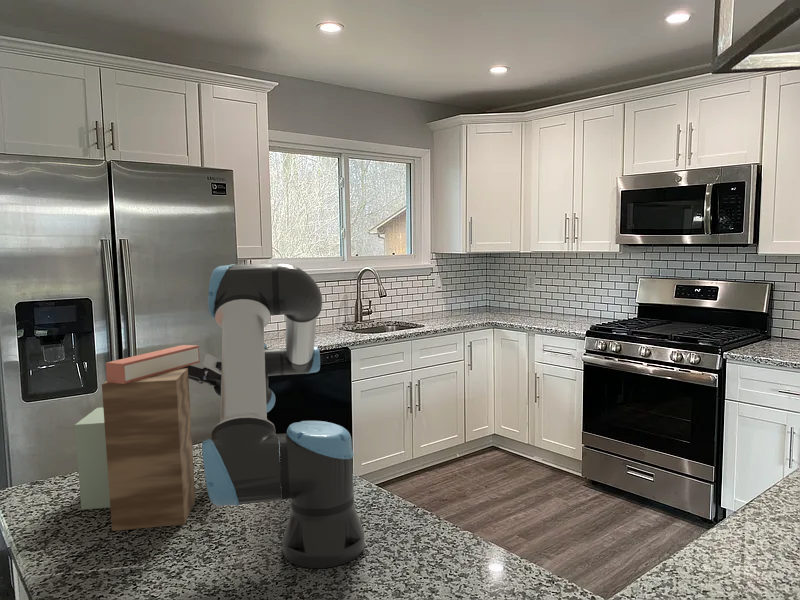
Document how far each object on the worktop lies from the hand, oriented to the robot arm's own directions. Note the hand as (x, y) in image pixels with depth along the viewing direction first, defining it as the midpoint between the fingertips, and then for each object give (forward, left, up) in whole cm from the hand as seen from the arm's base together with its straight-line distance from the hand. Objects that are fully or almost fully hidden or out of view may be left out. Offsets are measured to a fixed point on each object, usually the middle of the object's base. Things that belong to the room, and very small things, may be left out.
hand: (181, 358), depth 136 cm
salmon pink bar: (-7, +4, -1) cm, 8 cm away
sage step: (+2, +16, -31) cm, 35 cm away
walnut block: (-11, +5, -31) cm, 34 cm away
